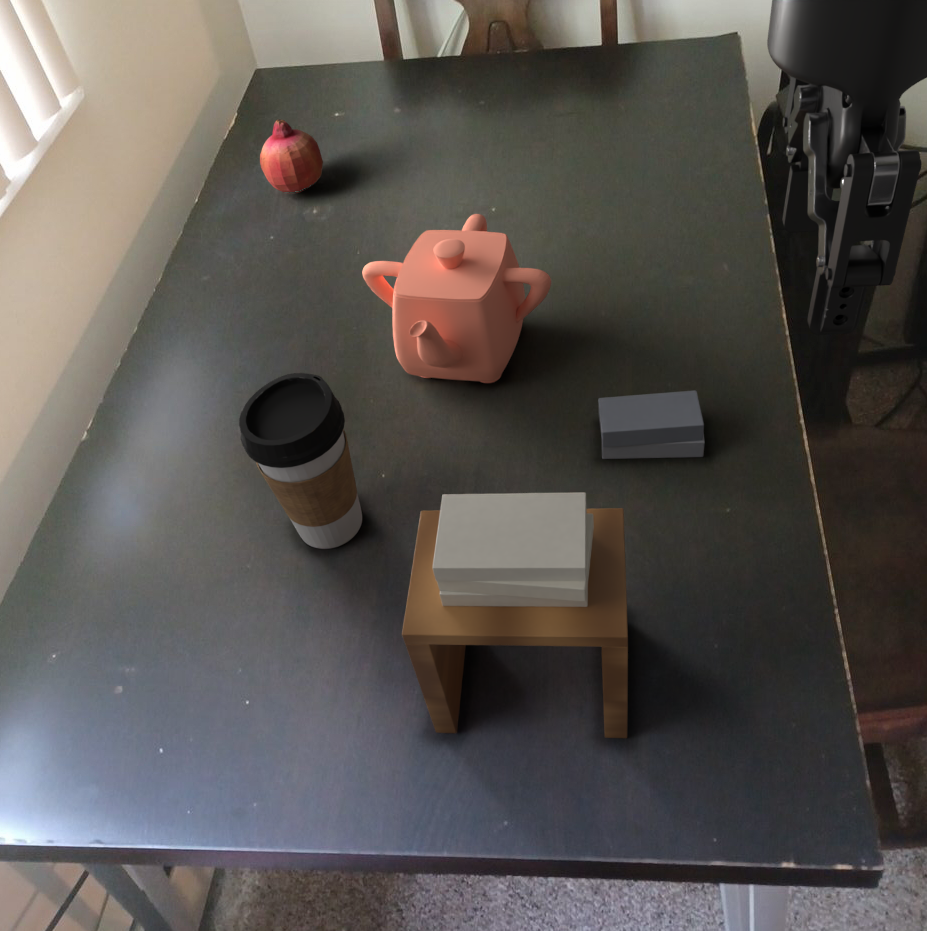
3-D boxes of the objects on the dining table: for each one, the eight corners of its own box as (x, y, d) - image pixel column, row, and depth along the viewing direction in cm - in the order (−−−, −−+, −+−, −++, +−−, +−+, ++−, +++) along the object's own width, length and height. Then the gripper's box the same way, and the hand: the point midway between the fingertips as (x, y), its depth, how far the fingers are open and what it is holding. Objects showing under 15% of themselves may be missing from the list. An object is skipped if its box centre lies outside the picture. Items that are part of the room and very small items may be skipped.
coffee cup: (395, 512, 82) (359, 393, 71) (330, 576, 78) (281, 461, 67) (331, 474, 86) (287, 356, 75) (266, 533, 82) (210, 418, 71)
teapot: (487, 286, 102) (472, 182, 92) (572, 357, 92) (566, 249, 83) (359, 352, 97) (329, 249, 88) (434, 433, 88) (411, 328, 78)
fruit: (262, 207, 120) (238, 137, 112) (282, 174, 125) (261, 105, 117) (318, 207, 118) (298, 136, 110) (337, 174, 123) (319, 104, 115)
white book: (586, 505, 58) (585, 492, 57) (586, 581, 54) (585, 567, 53) (445, 507, 59) (442, 494, 58) (435, 581, 56) (432, 568, 55)
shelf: (623, 618, 71) (623, 507, 61) (627, 738, 65) (627, 637, 54) (449, 617, 74) (420, 510, 63) (435, 733, 67) (401, 634, 57)
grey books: (699, 420, 84) (701, 389, 81) (703, 460, 81) (706, 429, 78) (599, 423, 86) (598, 393, 83) (599, 462, 82) (598, 432, 79)
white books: (594, 529, 60) (593, 503, 58) (594, 614, 56) (593, 589, 54) (451, 531, 62) (445, 505, 60) (441, 613, 57) (434, 589, 55)
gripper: (1052, -4, 29) (928, 367, 41) (940, -141, 39) (865, 194, 51) (810, 18, 30) (757, 373, 42) (757, -120, 40) (726, 203, 52)
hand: (816, 275), depth 46 cm, fingers open, 8 cm apart
